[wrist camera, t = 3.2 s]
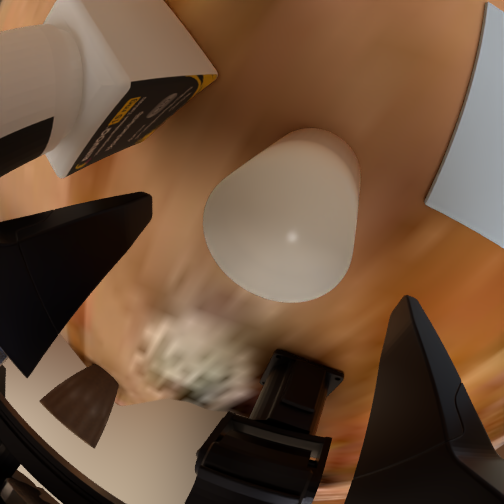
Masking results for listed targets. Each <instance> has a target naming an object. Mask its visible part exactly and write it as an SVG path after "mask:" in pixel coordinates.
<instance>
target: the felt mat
mask: <svg viewBox="0 0 504 504" xmlns="http://www.w3.org/2000/svg"><path fill="white" fill-rule="evenodd" d="M424 203H425V205H427V206H429V207H431V208H433V209H435V210H437V211H439V212H441V213H443V214H445V215H447V216H448V217H450V218H452V219H454V220H456V221H458V222H460V223H461V224H463V225H465V226H467V227H469V228H470V229H472V230H474V231H476V232H477V233H479V234H481V235H483V236H484V237H486V238H488V239H489V240H491V241H493V242H494V243H496V244H497V245H499V246H501V247H502V248H504V12H503V11H501V10H500V9H498V8H497V7H495V6H494V5H492V4H491V3H489V2H487V3H485V11H484V18H483V24H482V30H481V36H480V41H479V46H478V51H477V55H476V60H475V64H474V68H473V72H472V76H471V79H470V83H469V86H468V90H467V93H466V97H465V100H464V103H463V106H462V109H461V112H460V115H459V118H458V121H457V124H456V127H455V130H454V132H453V135H452V138H451V140H450V143H449V146H448V148H447V151H446V153H445V156H444V158H443V161H442V163H441V165H440V168H439V170H438V172H437V175H436V177H435V179H434V181H433V184H432V186H431V188H430V190H429V192H428V195H427V197H426V199H425V201H424Z"/></svg>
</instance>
